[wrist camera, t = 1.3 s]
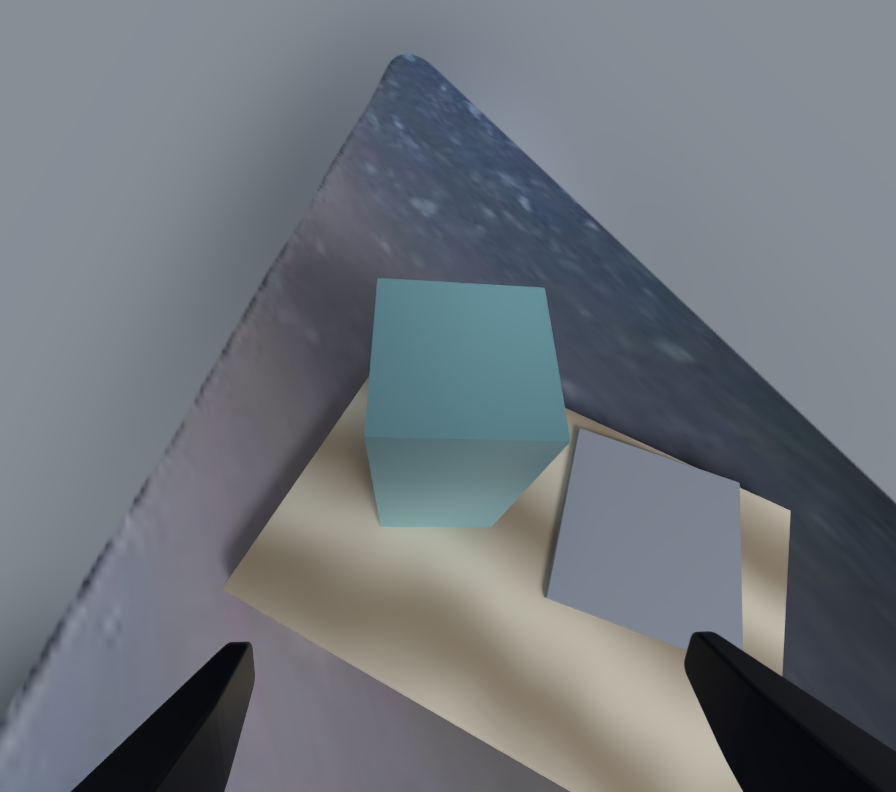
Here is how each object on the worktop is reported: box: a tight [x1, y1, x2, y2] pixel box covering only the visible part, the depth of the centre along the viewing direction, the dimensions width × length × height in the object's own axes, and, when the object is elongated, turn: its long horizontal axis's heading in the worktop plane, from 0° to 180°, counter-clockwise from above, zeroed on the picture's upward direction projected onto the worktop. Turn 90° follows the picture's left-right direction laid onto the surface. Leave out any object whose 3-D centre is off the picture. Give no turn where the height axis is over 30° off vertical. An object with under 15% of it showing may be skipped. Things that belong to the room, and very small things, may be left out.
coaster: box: [544, 428, 743, 651], centre depth 21 cm, size 9×9×1 cm
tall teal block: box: [364, 278, 571, 527], centre depth 17 cm, size 5×5×11 cm
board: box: [222, 377, 790, 792], centre depth 21 cm, size 16×24×3 cm, turn 64°
